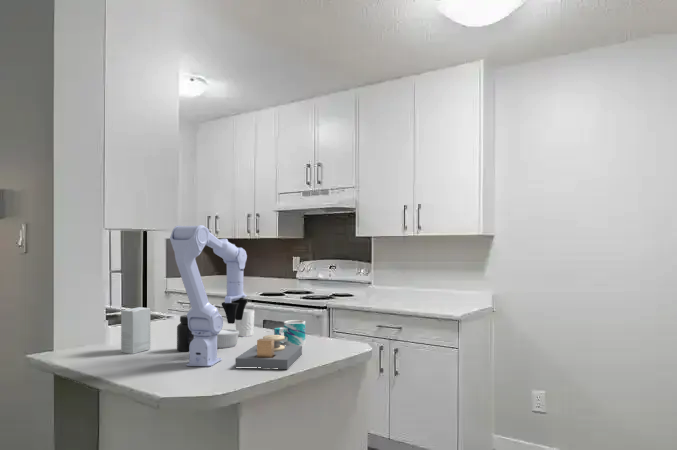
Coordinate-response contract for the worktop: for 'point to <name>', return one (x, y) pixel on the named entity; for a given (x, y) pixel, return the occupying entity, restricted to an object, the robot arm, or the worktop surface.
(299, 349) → the notched board
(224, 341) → the ramekin
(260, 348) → the wooden block
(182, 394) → the worktop surface
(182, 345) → the supplement bottle
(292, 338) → the mug
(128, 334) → the skincare box
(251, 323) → the white cup
